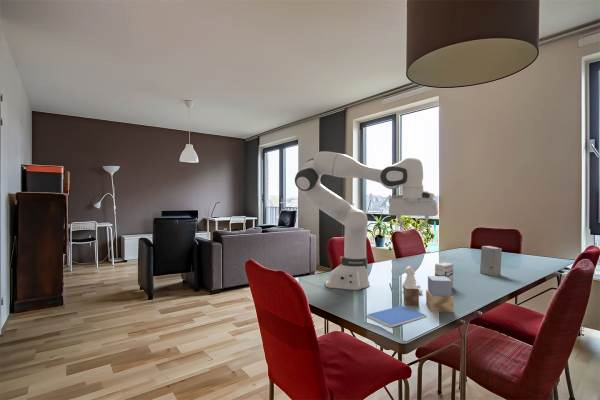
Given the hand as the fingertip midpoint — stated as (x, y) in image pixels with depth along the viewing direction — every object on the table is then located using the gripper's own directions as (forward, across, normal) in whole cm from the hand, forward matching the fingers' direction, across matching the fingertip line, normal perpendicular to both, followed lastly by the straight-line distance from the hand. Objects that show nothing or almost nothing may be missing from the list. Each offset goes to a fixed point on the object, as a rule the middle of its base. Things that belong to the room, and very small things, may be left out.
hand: (412, 226), depth 135 cm
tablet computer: (+33, -2, -25) cm, 41 cm away
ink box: (+32, +11, +24) cm, 41 cm away
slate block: (+26, +11, -8) cm, 29 cm away
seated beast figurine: (+32, -2, +10) cm, 34 cm away
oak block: (+32, +11, -8) cm, 35 cm away
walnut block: (+32, 0, -8) cm, 33 cm away
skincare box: (+32, +32, +66) cm, 80 cm away
